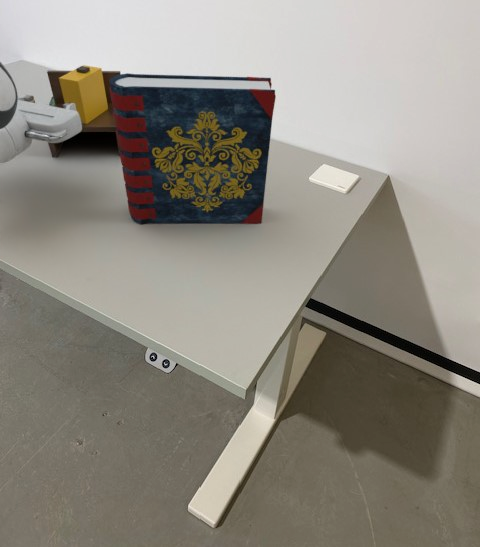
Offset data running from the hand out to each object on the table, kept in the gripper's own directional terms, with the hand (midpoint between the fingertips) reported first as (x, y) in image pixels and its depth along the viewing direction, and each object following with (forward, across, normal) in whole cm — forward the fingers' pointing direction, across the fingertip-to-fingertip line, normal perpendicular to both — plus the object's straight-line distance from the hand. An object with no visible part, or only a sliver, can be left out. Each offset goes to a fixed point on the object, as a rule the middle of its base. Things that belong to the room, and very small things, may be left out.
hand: (51, 102), depth 83 cm
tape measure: (+11, 0, +6) cm, 13 cm away
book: (-8, -33, +14) cm, 37 cm away
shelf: (+11, +1, +14) cm, 17 cm away
